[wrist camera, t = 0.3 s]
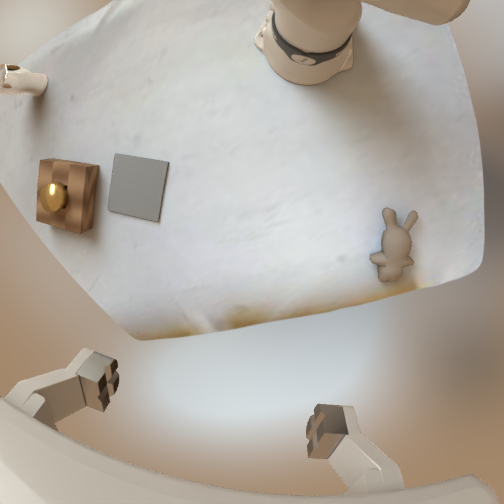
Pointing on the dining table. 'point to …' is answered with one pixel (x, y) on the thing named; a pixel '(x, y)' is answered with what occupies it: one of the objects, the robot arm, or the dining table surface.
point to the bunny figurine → (394, 246)
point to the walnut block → (69, 193)
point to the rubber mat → (137, 186)
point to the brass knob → (54, 196)
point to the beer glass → (21, 81)
